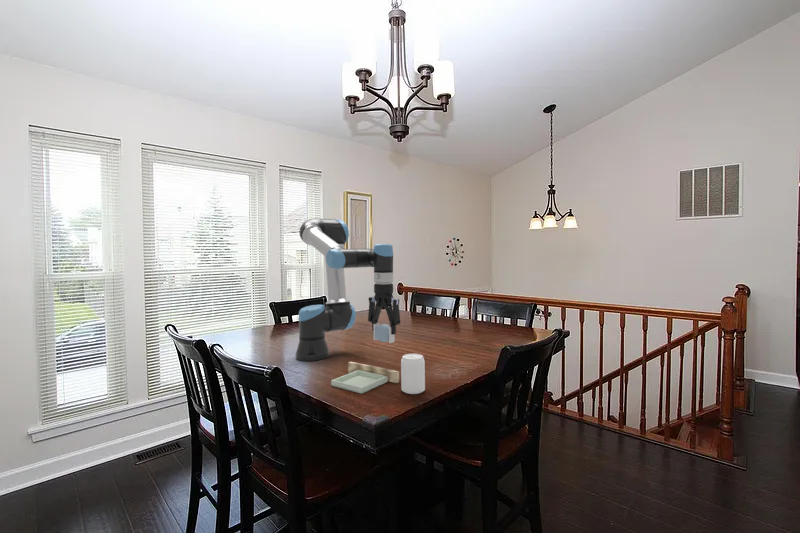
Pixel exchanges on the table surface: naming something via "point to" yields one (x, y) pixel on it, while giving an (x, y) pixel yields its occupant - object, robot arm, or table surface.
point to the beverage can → (412, 373)
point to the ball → (382, 333)
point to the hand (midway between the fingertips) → (383, 340)
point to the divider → (374, 371)
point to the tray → (359, 381)
